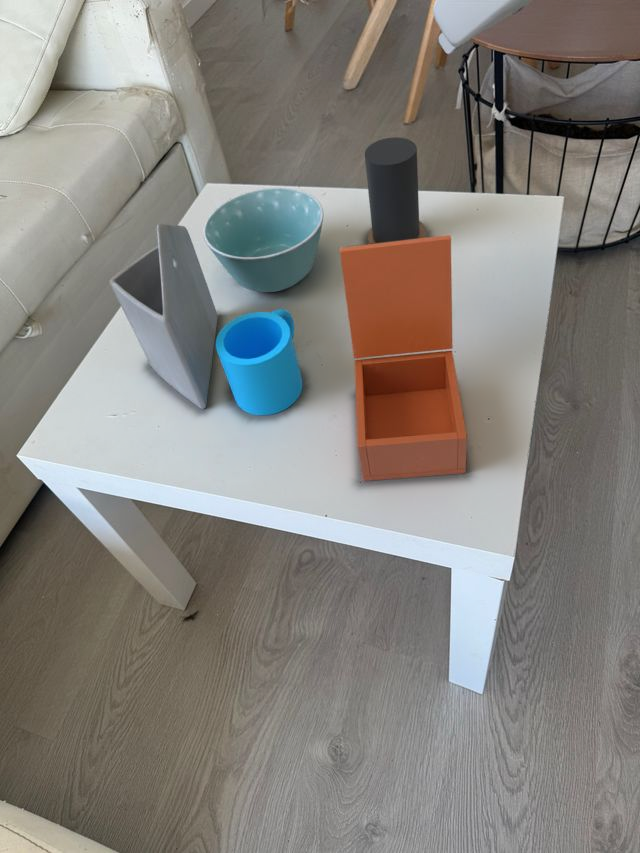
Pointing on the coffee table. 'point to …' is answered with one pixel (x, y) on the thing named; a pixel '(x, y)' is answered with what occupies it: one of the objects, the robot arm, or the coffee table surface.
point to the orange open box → (409, 416)
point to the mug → (261, 361)
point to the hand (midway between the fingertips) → (480, 24)
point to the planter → (171, 312)
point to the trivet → (421, 235)
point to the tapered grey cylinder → (393, 189)
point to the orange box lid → (399, 296)
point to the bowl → (266, 237)
